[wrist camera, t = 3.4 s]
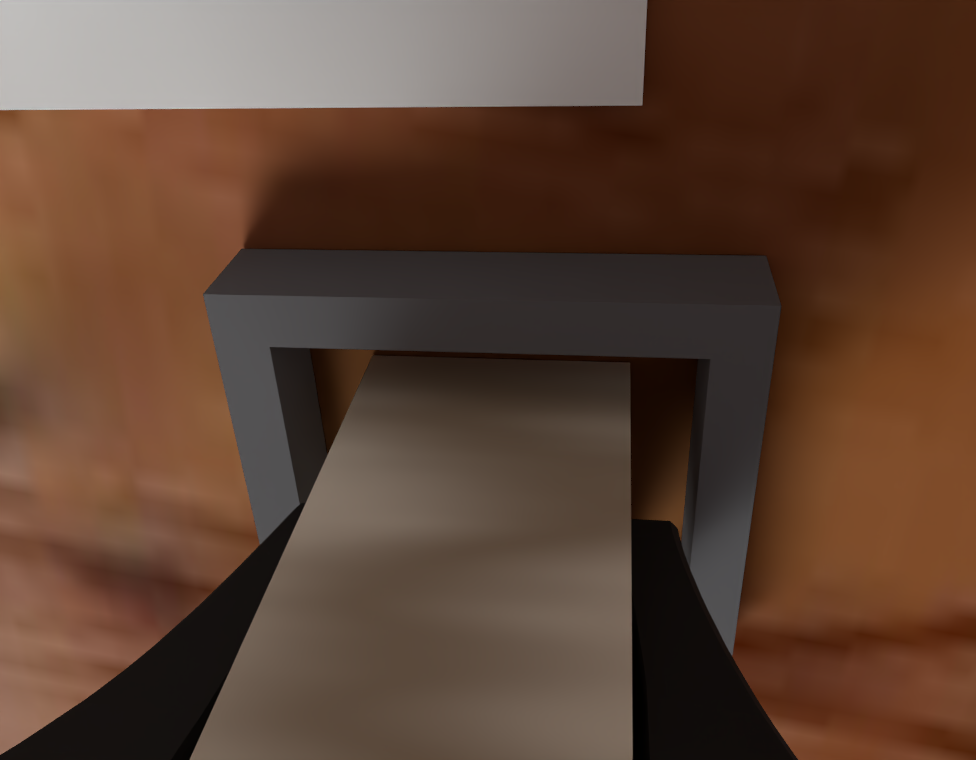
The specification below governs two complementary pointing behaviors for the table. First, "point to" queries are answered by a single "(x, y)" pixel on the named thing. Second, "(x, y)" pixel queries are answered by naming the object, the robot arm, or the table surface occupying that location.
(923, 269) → the table surface
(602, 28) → the dock
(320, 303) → the square frame
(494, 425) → the plug
